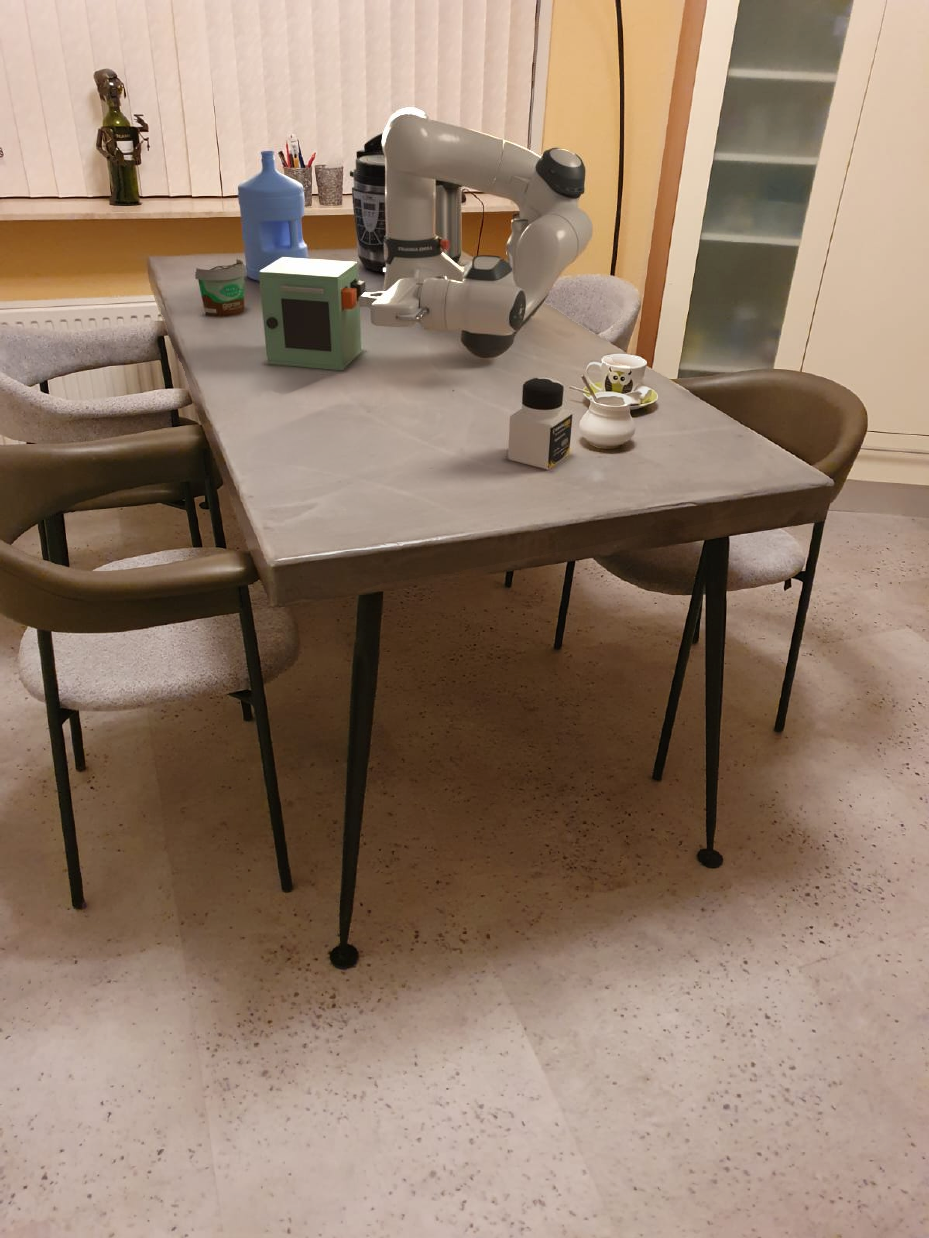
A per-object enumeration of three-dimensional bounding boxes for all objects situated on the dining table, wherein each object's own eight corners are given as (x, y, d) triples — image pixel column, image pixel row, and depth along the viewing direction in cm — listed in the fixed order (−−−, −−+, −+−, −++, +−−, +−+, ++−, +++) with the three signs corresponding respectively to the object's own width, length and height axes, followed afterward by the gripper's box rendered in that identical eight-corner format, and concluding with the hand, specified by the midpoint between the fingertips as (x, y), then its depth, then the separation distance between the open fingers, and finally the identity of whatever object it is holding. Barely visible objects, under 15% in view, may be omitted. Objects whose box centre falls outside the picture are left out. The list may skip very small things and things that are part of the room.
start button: (357, 305, 178) (356, 288, 176) (352, 309, 175) (351, 292, 174) (341, 304, 178) (340, 287, 176) (336, 308, 176) (335, 291, 174)
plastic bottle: (518, 323, 207) (514, 225, 197) (503, 316, 213) (498, 220, 202) (543, 317, 210) (541, 220, 199) (528, 311, 215) (524, 216, 204)
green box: (361, 351, 190) (357, 262, 181) (340, 372, 179) (335, 278, 170) (289, 345, 192) (282, 257, 183) (264, 366, 181) (255, 273, 172)
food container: (219, 322, 205) (213, 273, 200) (200, 316, 208) (193, 268, 203) (262, 309, 214) (257, 263, 208) (243, 305, 217) (238, 258, 211)
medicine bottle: (548, 470, 143) (553, 393, 137) (507, 460, 146) (510, 383, 140) (570, 455, 148) (576, 379, 142) (529, 444, 152) (533, 370, 145)
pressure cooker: (338, 257, 257) (331, 124, 240) (436, 249, 267) (436, 121, 250) (374, 283, 234) (369, 139, 217) (480, 274, 244) (483, 135, 227)
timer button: (365, 297, 182) (365, 281, 180) (361, 301, 180) (360, 285, 178) (350, 296, 183) (349, 280, 181) (345, 300, 180) (345, 284, 179)
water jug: (232, 276, 238) (219, 152, 223) (277, 265, 249) (267, 145, 233) (278, 286, 230) (267, 158, 215) (322, 274, 241) (315, 151, 226)
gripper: (420, 338, 166) (344, 332, 168) (446, 307, 183) (376, 302, 185) (420, 301, 163) (342, 296, 165) (446, 273, 180) (375, 268, 182)
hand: (360, 299), depth 175 cm, fingers closed
